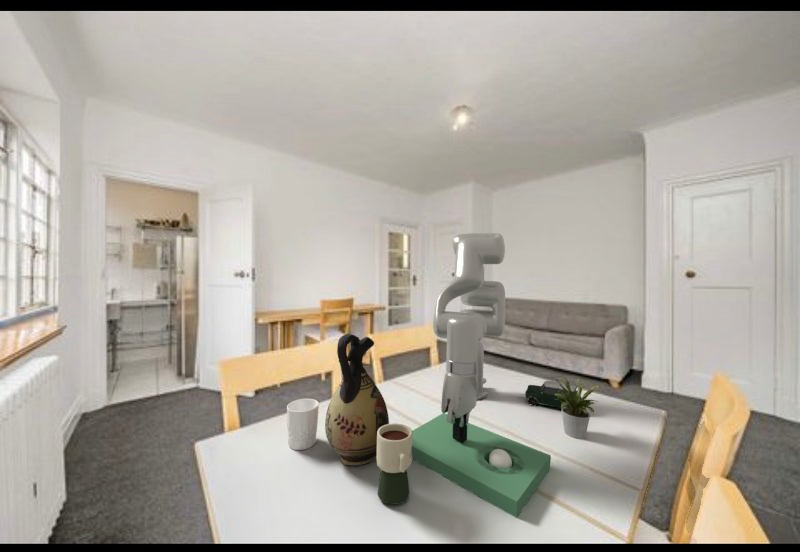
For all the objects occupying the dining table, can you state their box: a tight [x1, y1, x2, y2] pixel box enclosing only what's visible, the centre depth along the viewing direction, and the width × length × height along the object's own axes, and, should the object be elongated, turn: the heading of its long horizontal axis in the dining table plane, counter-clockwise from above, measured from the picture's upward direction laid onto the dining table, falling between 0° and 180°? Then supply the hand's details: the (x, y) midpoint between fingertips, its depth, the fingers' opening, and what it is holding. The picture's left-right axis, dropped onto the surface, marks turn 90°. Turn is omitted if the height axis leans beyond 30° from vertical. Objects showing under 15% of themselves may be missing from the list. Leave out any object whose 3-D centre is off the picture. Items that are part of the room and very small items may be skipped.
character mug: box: [376, 423, 413, 505], centre depth 61 cm, size 11×7×13 cm, turn 20°
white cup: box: [286, 398, 320, 451], centre depth 79 cm, size 8×8×10 cm
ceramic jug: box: [324, 333, 390, 466], centre depth 74 cm, size 17×15×30 cm
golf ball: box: [489, 449, 512, 469], centre depth 69 cm, size 5×5×5 cm
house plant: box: [547, 374, 602, 440], centre depth 87 cm, size 14×14×16 cm
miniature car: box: [524, 380, 582, 409], centre depth 105 cm, size 9×18×8 cm, turn 60°
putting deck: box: [411, 413, 552, 519], centre depth 73 cm, size 30×20×3 cm, turn 47°
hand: (459, 439), depth 76 cm, fingers closed
